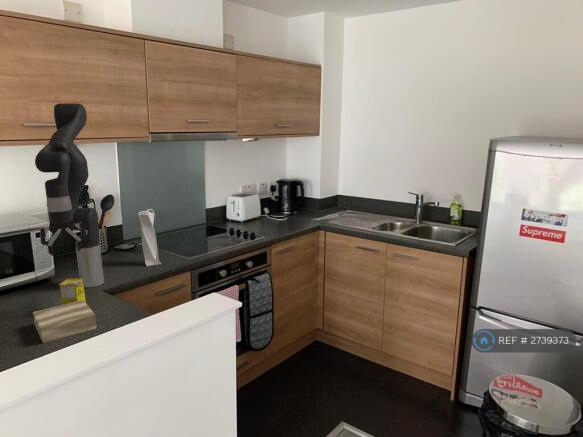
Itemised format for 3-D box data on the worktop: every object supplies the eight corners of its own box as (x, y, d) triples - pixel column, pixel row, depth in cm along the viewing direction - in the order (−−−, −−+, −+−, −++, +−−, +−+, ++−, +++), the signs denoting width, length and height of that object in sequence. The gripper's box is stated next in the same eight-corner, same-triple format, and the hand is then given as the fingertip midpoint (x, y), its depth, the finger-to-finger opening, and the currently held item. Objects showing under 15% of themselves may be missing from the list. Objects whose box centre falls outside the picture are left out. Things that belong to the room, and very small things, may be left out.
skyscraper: (162, 265, 211) (157, 208, 205) (144, 268, 208) (139, 210, 201) (158, 260, 219) (154, 206, 212) (142, 263, 215) (136, 207, 209)
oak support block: (34, 325, 149) (32, 312, 148) (84, 312, 159) (83, 299, 158) (43, 343, 137) (40, 328, 136) (96, 328, 147) (94, 314, 146)
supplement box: (86, 305, 165) (82, 278, 163) (79, 312, 160) (75, 284, 157) (70, 305, 165) (66, 278, 163) (63, 312, 159) (59, 284, 157)
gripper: (79, 204, 160) (84, 247, 164) (35, 210, 152) (41, 254, 155) (83, 207, 154) (89, 251, 158) (38, 213, 146) (45, 259, 150)
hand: (65, 252), depth 157 cm, fingers open, 8 cm apart
